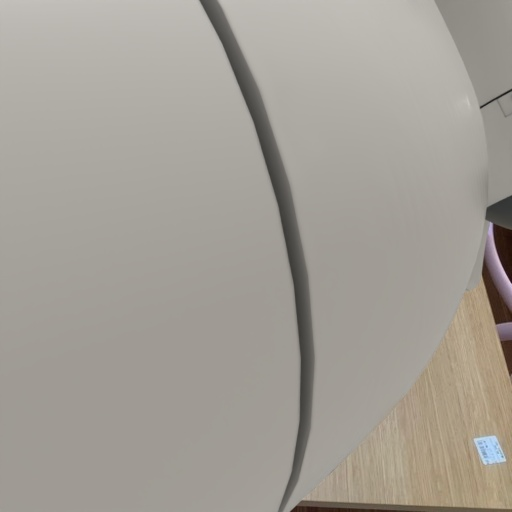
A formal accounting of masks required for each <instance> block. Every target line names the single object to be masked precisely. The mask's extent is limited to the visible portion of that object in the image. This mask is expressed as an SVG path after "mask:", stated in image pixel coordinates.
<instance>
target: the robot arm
mask: <svg viewBox="0 0 512 512" xmlns="http://www.w3.org/2000/svg"><path fill="white" fill-rule="evenodd" d="M491 224H494V225H496V226H499V227H502V228H504V229H508V230H512V0H0V512H291V511H292V510H293V509H294V508H295V507H296V506H297V505H298V504H299V503H301V501H302V500H304V499H305V498H306V497H308V495H309V494H310V493H311V492H313V491H314V490H315V489H316V488H317V487H318V486H319V485H320V484H321V483H322V482H323V481H324V480H325V479H327V478H328V477H329V476H330V475H331V474H332V473H333V472H334V471H335V470H336V469H338V467H339V466H340V465H342V464H343V463H344V462H345V461H346V459H348V458H349V457H350V456H351V455H352V454H353V453H354V452H355V451H356V450H357V449H358V448H359V447H360V446H361V445H362V444H363V443H364V442H365V441H366V440H367V439H368V438H369V437H370V436H371V435H372V434H373V433H374V432H375V431H376V430H377V429H378V427H379V426H380V425H381V424H382V423H383V422H384V421H385V420H386V419H387V418H388V416H389V415H390V414H391V413H392V412H393V411H394V410H395V409H396V408H397V407H398V405H399V404H400V403H401V402H402V400H403V399H405V397H406V396H407V394H409V392H410V391H411V389H412V388H413V387H414V386H415V384H416V383H417V382H418V380H419V379H420V377H421V376H422V374H424V372H425V370H426V369H427V367H428V366H429V365H430V363H431V361H432V360H433V358H434V357H435V355H436V353H437V352H438V350H439V348H440V346H441V345H442V342H443V340H444V339H445V337H446V335H447V333H448V331H449V329H450V327H451V324H452V323H453V321H454V319H455V317H456V314H457V312H458V309H459V307H460V305H461V303H462V302H463V301H462V300H463V299H464V294H465V293H467V292H470V291H473V290H475V289H476V288H478V286H479V284H480V283H481V280H482V274H483V267H484V257H485V252H486V251H485V250H486V244H487V239H488V235H489V230H490V226H491Z"/></svg>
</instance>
